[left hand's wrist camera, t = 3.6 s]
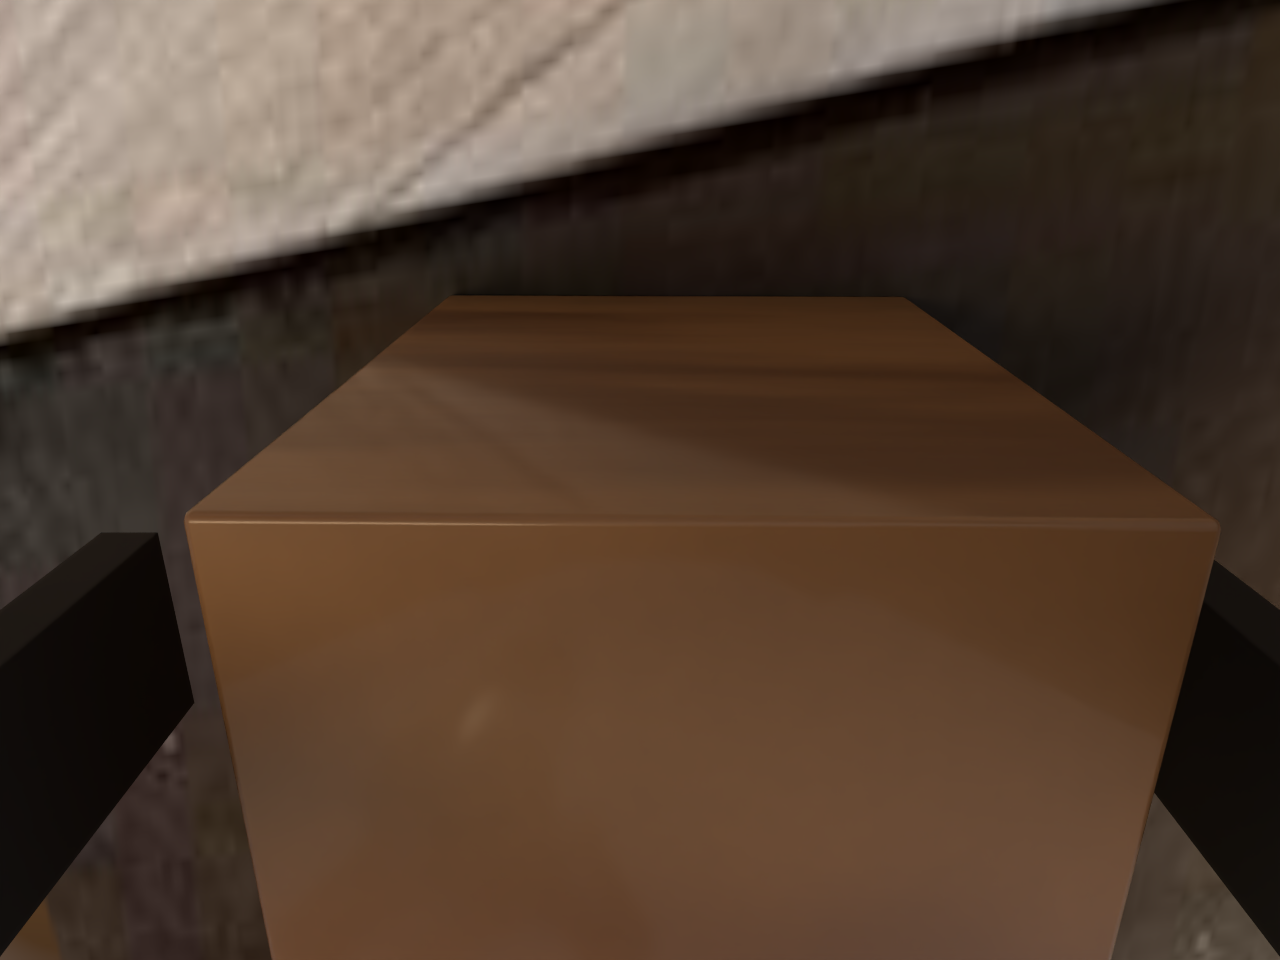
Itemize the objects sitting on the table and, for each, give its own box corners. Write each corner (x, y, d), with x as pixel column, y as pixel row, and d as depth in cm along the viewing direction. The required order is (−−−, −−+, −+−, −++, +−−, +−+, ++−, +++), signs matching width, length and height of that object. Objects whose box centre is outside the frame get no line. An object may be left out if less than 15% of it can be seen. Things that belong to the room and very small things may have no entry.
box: (448, 294, 18) (176, 514, 8) (906, 296, 17) (1228, 522, 8) (505, 1048, 25) (406, 1644, 15) (825, 1054, 25) (933, 1661, 15)
